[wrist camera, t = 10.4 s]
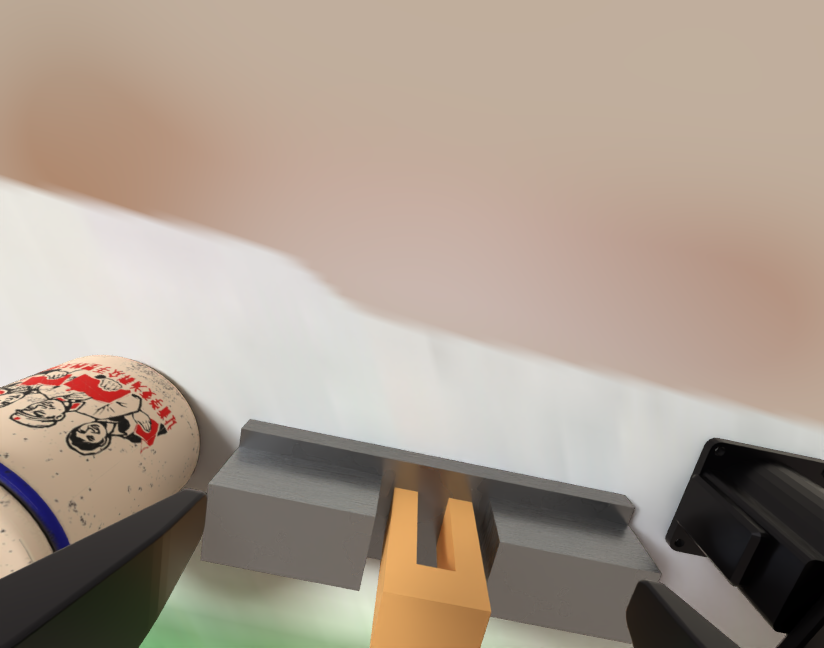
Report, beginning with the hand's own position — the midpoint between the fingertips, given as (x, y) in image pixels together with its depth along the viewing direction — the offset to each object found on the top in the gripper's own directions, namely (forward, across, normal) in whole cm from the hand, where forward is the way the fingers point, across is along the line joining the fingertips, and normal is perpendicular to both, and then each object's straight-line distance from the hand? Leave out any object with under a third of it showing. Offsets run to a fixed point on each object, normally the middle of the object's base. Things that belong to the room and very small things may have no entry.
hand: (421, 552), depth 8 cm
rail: (+12, -2, +8) cm, 15 cm away
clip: (+11, -2, +8) cm, 14 cm away
